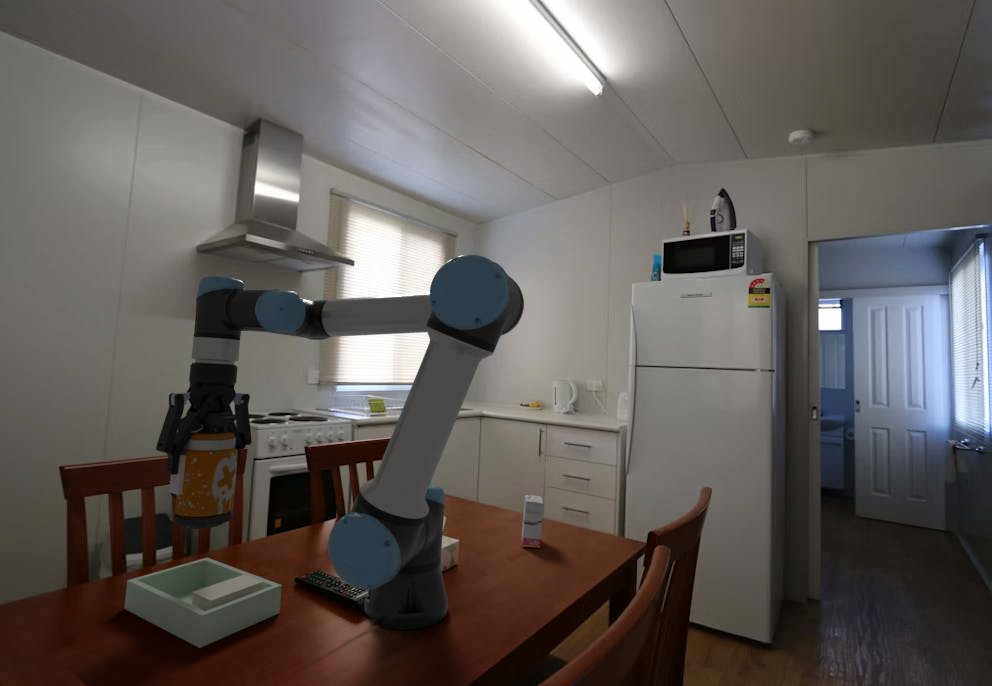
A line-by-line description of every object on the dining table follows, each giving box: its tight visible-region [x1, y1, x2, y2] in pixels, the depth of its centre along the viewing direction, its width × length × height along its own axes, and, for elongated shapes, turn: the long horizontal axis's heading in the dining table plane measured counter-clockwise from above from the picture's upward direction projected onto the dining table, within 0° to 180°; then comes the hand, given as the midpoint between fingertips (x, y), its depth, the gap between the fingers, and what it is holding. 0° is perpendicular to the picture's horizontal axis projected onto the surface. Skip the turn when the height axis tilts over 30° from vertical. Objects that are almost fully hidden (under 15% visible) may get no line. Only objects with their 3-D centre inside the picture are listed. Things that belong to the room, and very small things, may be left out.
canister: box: [169, 412, 238, 530], centre depth 91 cm, size 9×11×20 cm
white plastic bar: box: [192, 575, 263, 611], centre depth 85 cm, size 5×9×6 cm, turn 151°
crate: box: [123, 557, 282, 649], centre depth 88 cm, size 22×14×6 cm, turn 61°
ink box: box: [521, 494, 545, 547], centre depth 136 cm, size 9×5×12 cm, turn 179°
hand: (203, 488), depth 91 cm, fingers closed on canister, 9 cm apart
